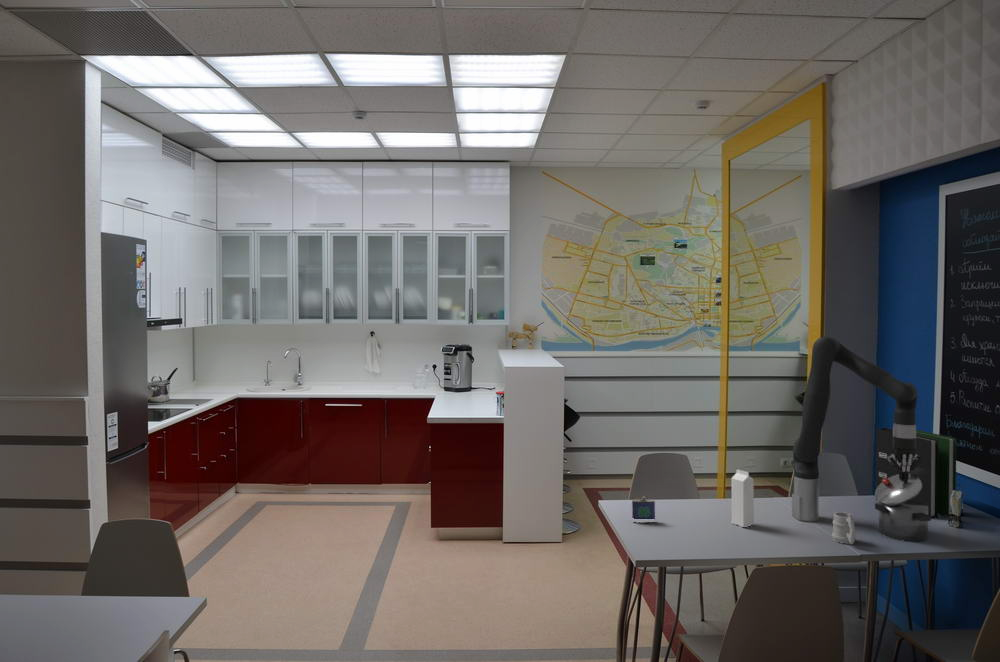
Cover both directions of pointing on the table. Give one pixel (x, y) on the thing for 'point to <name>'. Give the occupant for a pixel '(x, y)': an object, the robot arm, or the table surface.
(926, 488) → the binder
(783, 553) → the table surface
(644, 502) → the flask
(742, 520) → the milk
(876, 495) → the lid
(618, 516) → the table surface
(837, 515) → the mug
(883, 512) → the pot
